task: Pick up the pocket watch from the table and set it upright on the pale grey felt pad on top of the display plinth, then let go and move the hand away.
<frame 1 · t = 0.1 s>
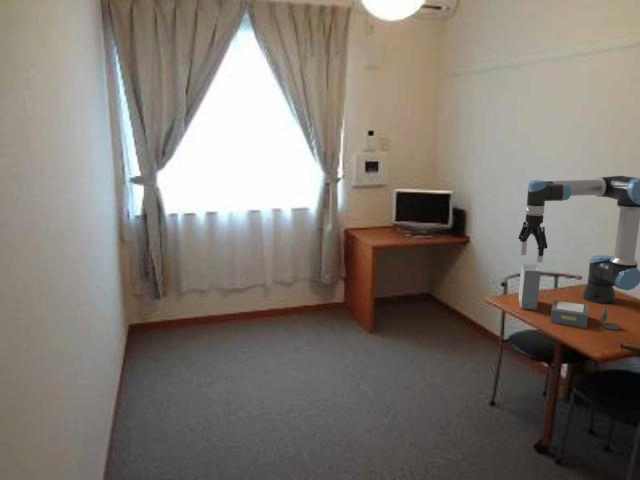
hand: (530, 258, 238), 28 cm above the table, tool pointing down, fingers open, 13 cm apart
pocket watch: (608, 327, 228), on the table
display plinth: (569, 319, 237), on the table
hard drive box: (527, 304, 257), on the table
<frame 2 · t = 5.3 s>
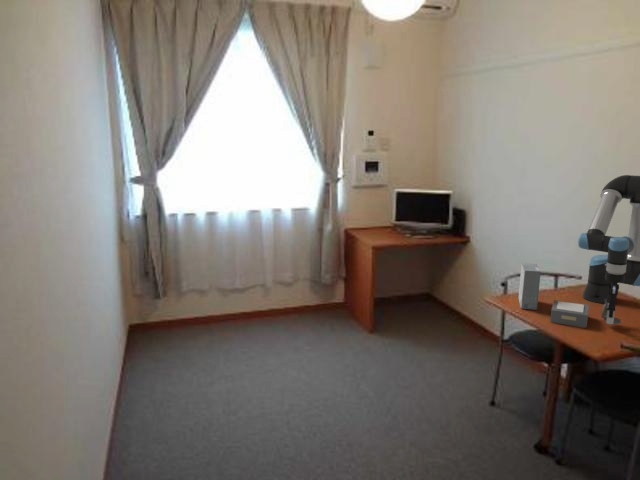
hand: (609, 320, 228), 3 cm above the table, tool pointing down, fingers closed on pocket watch, 7 cm apart
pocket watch: (609, 321, 228), point 2 cm above the table, touching gripper
everything else where it was.
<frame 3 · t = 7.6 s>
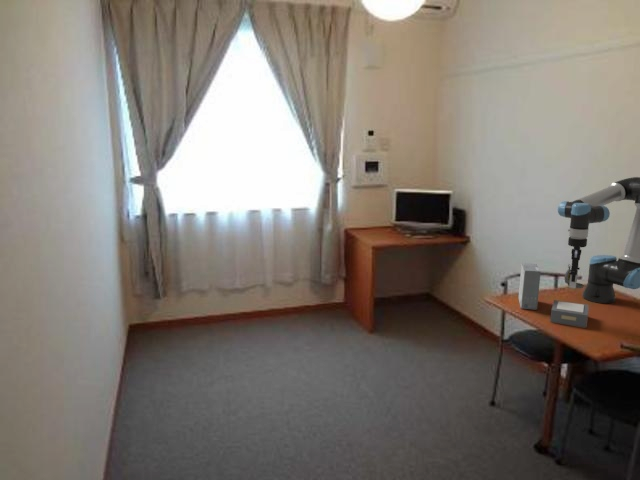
hand: (572, 285, 233), 17 cm above the table, tool pointing down, fingers closed on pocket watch, 7 cm apart
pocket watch: (572, 286, 233), point 16 cm above the table, touching gripper
everything else where it was.
when the fingers open (8 cm above the table, at t = 9.9 s): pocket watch drops 1 cm, resting on display plinth.
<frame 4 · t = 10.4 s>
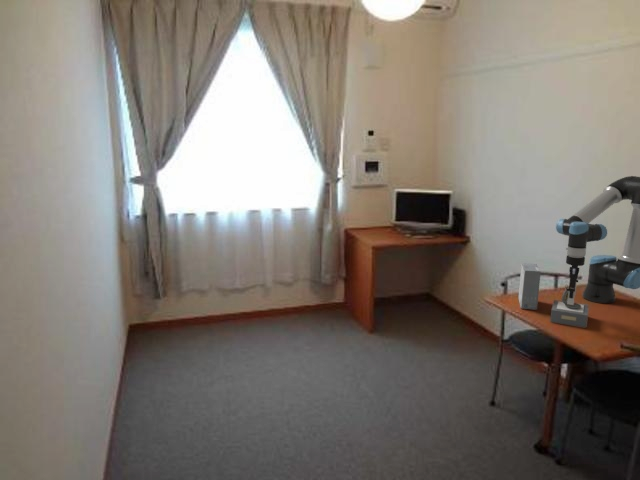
hand: (571, 299, 235), 10 cm above the table, tool pointing down, fingers open, 13 cm apart
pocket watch: (570, 306, 236), point 6 cm above the table, touching display plinth
everything else where it was.
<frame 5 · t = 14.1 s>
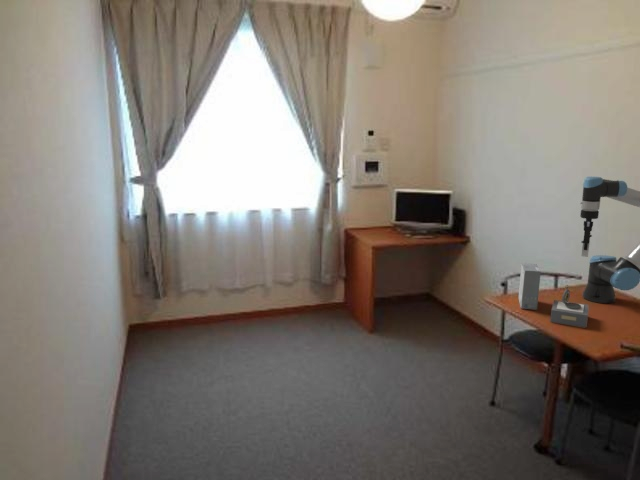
hand: (585, 253, 243), 29 cm above the table, tool pointing down, fingers open, 13 cm apart
nothing on the table moved.
at the end: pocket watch 0.3 cm from the display plinth (horizontally); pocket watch point 6.2 cm above the table; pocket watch tilted 0° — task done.
